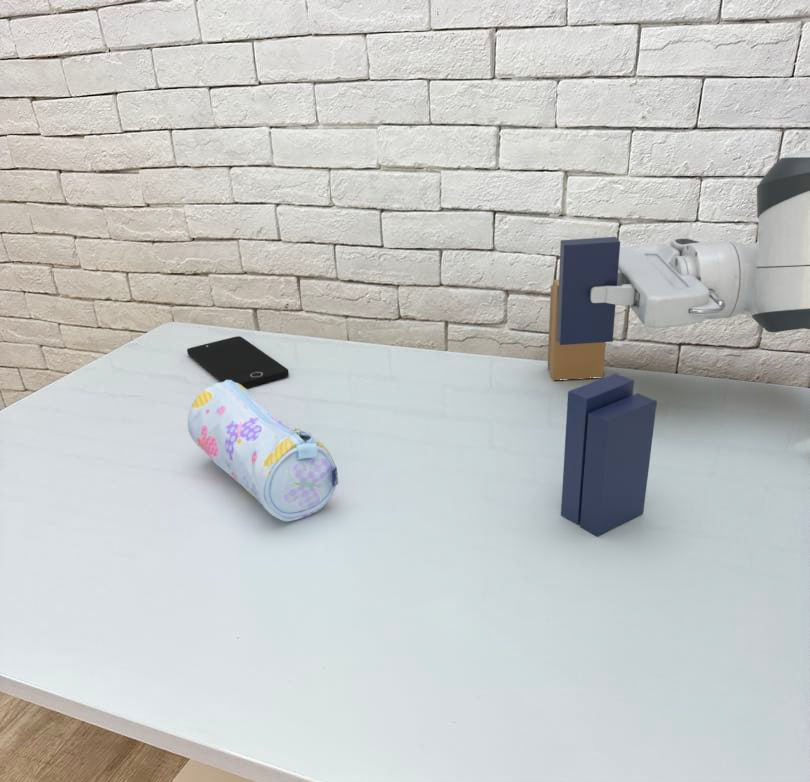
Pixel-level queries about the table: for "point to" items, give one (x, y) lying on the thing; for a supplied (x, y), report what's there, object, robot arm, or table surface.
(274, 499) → the pencil case
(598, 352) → the tan rectangular block
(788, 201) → the robot arm
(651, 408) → the navy books
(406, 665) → the table surface
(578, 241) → the navy book
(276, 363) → the cell phone
